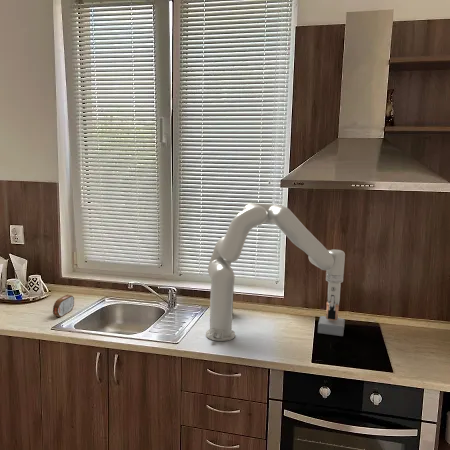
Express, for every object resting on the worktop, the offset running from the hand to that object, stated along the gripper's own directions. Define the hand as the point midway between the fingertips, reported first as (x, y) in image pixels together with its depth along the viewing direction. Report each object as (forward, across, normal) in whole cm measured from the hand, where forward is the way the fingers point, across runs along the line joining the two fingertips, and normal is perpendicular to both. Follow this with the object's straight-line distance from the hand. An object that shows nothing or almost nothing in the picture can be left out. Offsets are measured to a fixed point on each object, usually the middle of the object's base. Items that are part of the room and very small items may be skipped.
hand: (331, 316), depth 204 cm
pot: (+1, 0, 0) cm, 1 cm away
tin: (+7, -25, +122) cm, 125 cm away
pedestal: (+7, 0, 0) cm, 7 cm away
